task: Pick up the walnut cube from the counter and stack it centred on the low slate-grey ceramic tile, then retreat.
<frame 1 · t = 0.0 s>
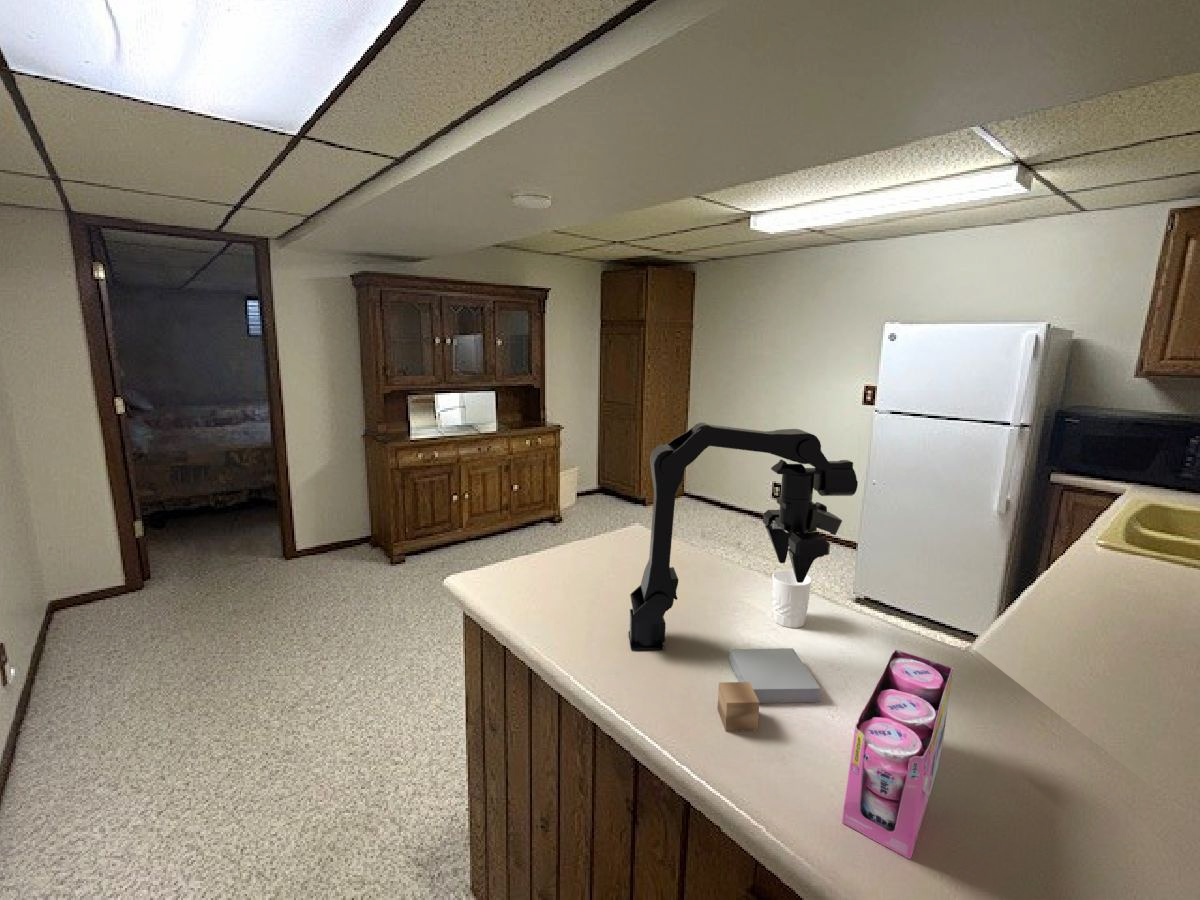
hand: (790, 572, 104), 15 cm above the countertop, fingers open, 9 cm apart
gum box: (895, 785, 72), on the countertop
walnut cube: (736, 720, 84), on the countertop
white cup: (788, 621, 115), on the countertop
slate tile: (771, 680, 94), on the countertop
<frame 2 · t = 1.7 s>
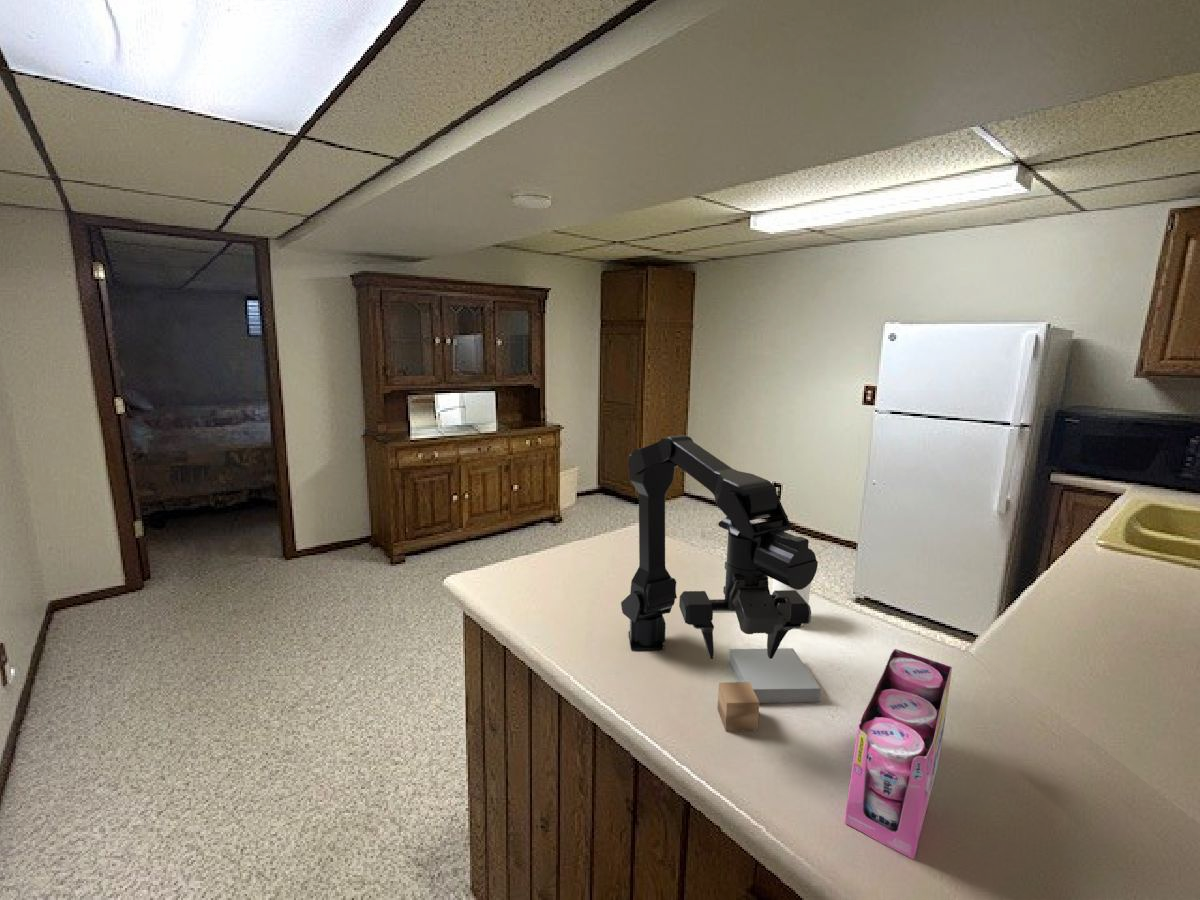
hand: (740, 657, 82), 11 cm above the countertop, fingers open, 9 cm apart
nothing on the countertop moved.
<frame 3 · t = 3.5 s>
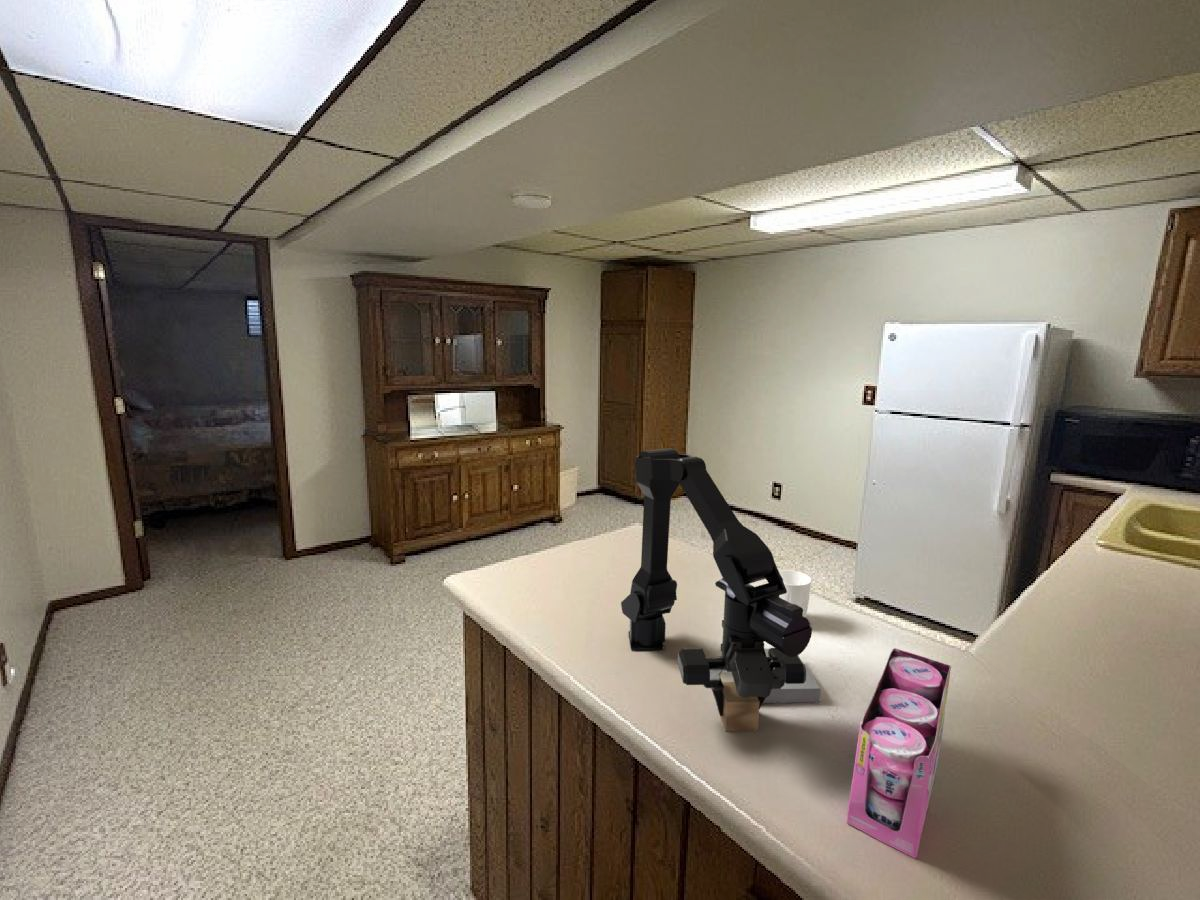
hand: (737, 713, 84), 1 cm above the countertop, fingers closed on walnut cube, 5 cm apart
walnut cube: (736, 719, 84), on the countertop, touching gripper
everything else where it was.
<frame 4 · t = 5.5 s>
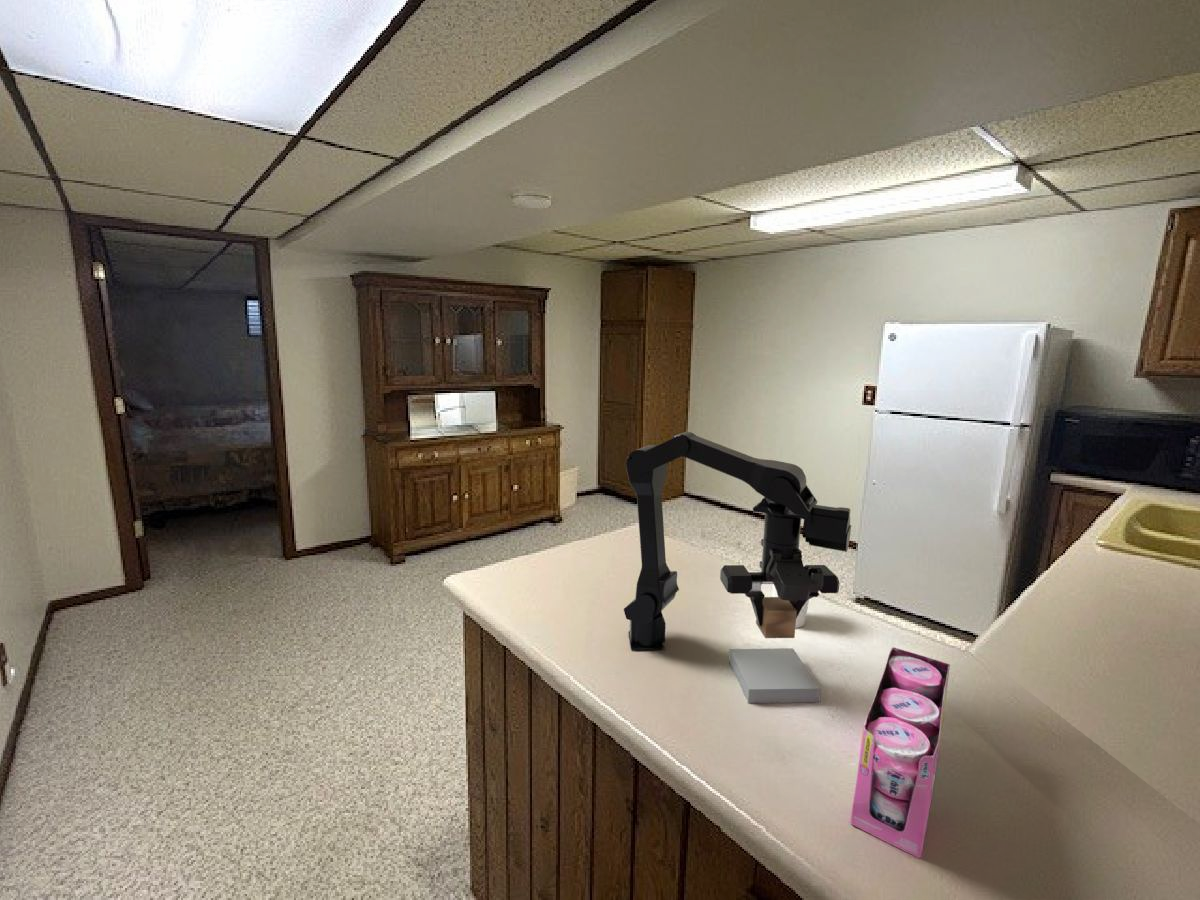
hand: (775, 624, 92), 11 cm above the countertop, fingers closed on walnut cube, 5 cm apart
walnut cube: (774, 630, 92), point 10 cm above the countertop, touching gripper
everything else where it was.
when the fingers open (5 cm above the countertop, at t = 7.3 s): walnut cube drops 1 cm, resting on slate tile.
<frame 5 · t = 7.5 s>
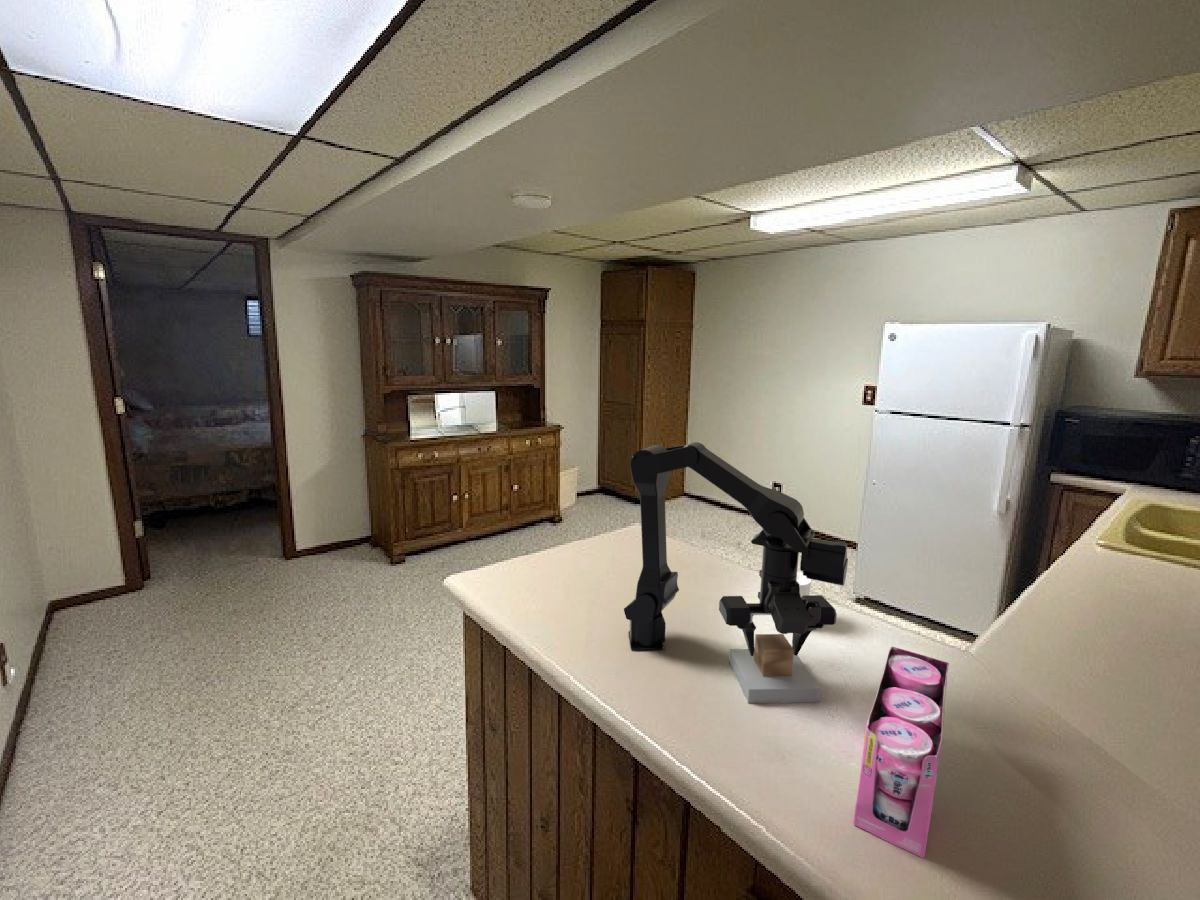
hand: (773, 654, 93), 5 cm above the countertop, fingers open, 7 cm apart
walnut cube: (772, 667, 94), point 2 cm above the countertop, touching slate tile
everything else where it was.
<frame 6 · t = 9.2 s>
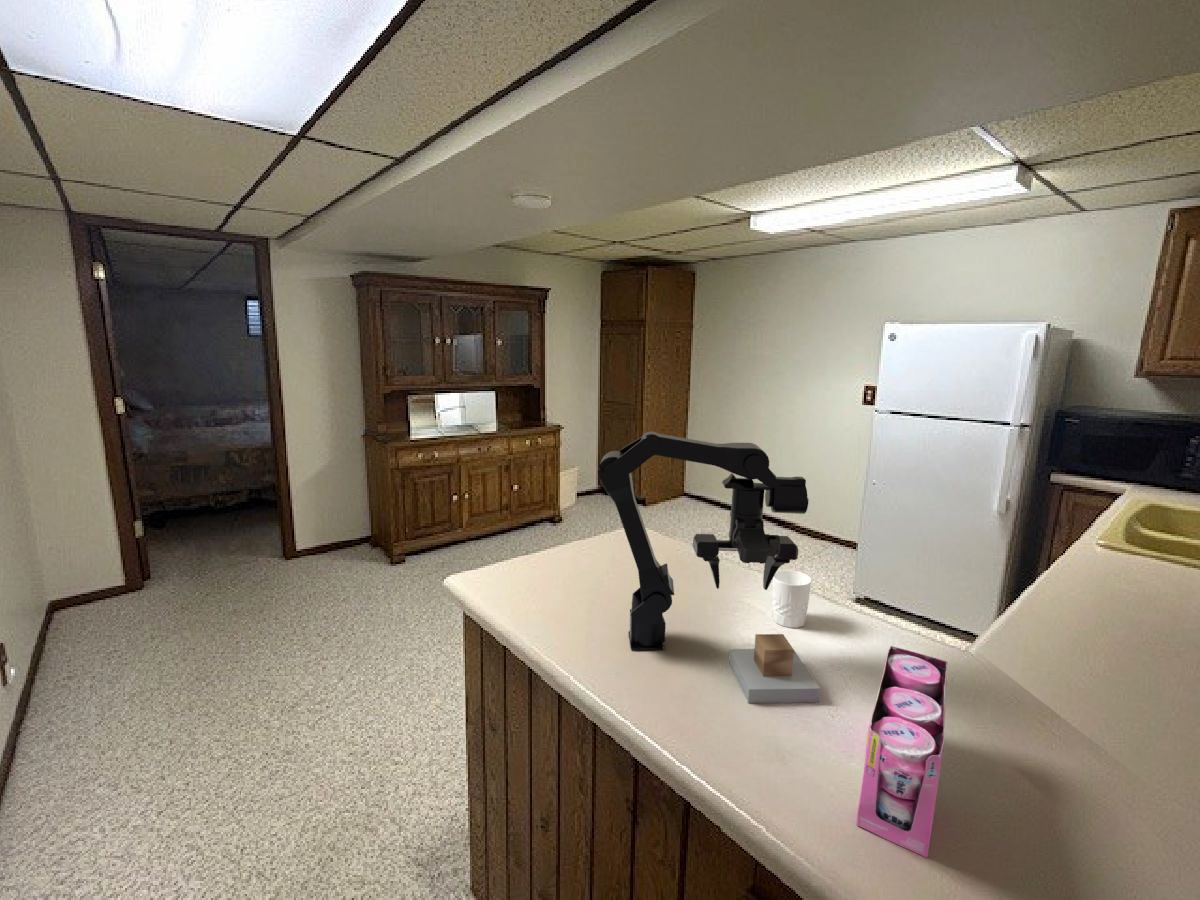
hand: (741, 588, 102), 12 cm above the countertop, fingers open, 9 cm apart
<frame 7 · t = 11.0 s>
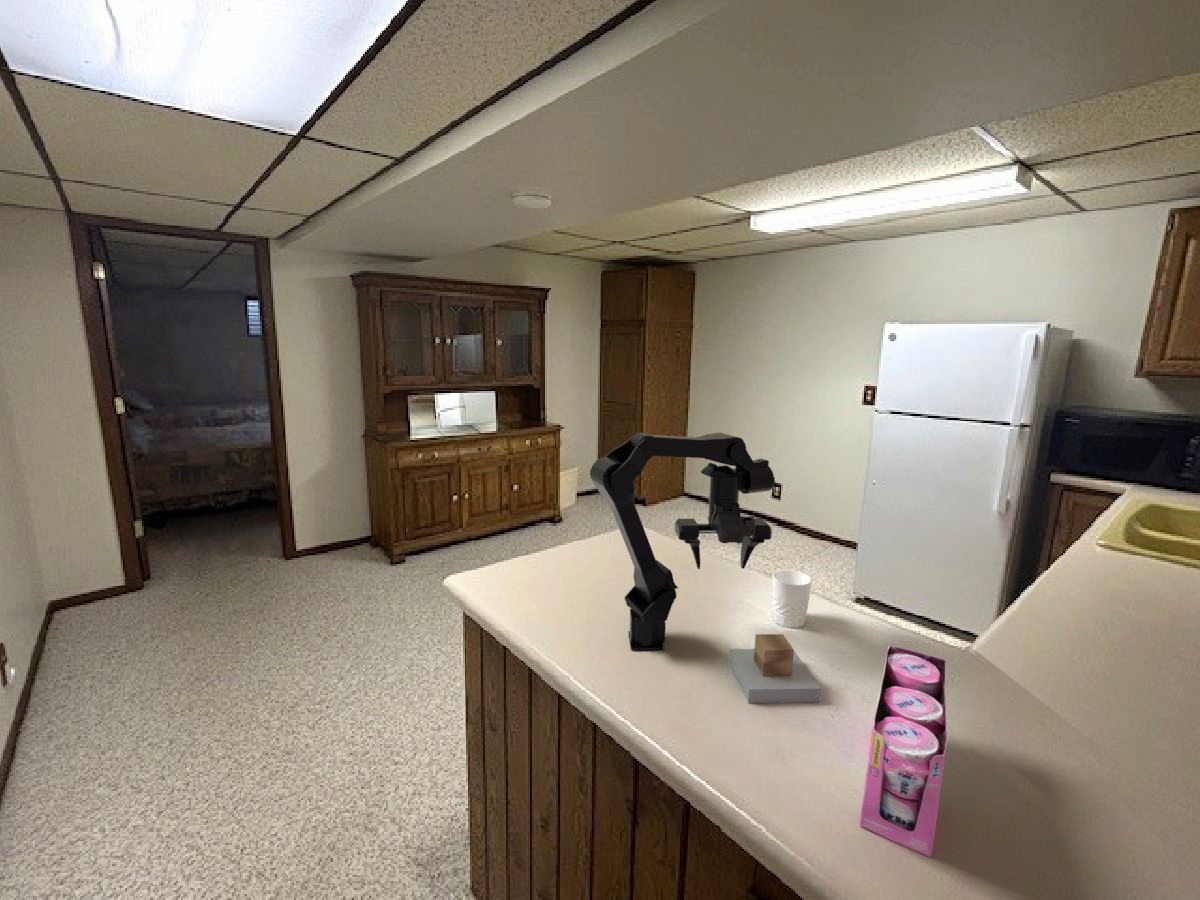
hand: (720, 568, 110), 13 cm above the countertop, fingers open, 9 cm apart
at the end: walnut cube inside the target area on the slate tile (0.0 cm from its centre), point 2.5 cm above the slate tile's base; walnut cube tilted 0°; the gripper is holding nothing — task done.
